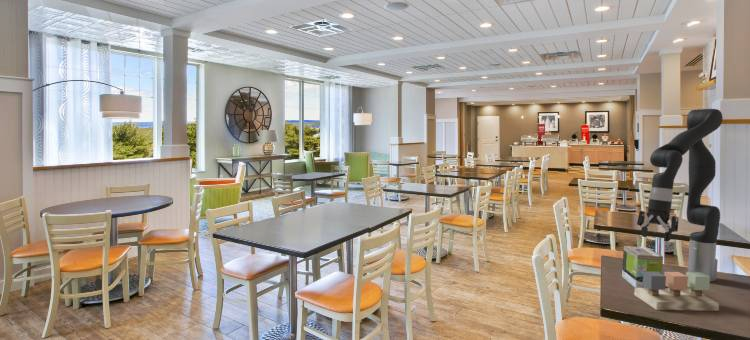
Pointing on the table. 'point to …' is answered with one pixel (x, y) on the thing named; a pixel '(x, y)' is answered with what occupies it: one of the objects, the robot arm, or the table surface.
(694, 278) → the sage green cube
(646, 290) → the key board
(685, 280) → the terracotta key
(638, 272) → the tea box
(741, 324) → the table surface
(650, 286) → the grey cube
